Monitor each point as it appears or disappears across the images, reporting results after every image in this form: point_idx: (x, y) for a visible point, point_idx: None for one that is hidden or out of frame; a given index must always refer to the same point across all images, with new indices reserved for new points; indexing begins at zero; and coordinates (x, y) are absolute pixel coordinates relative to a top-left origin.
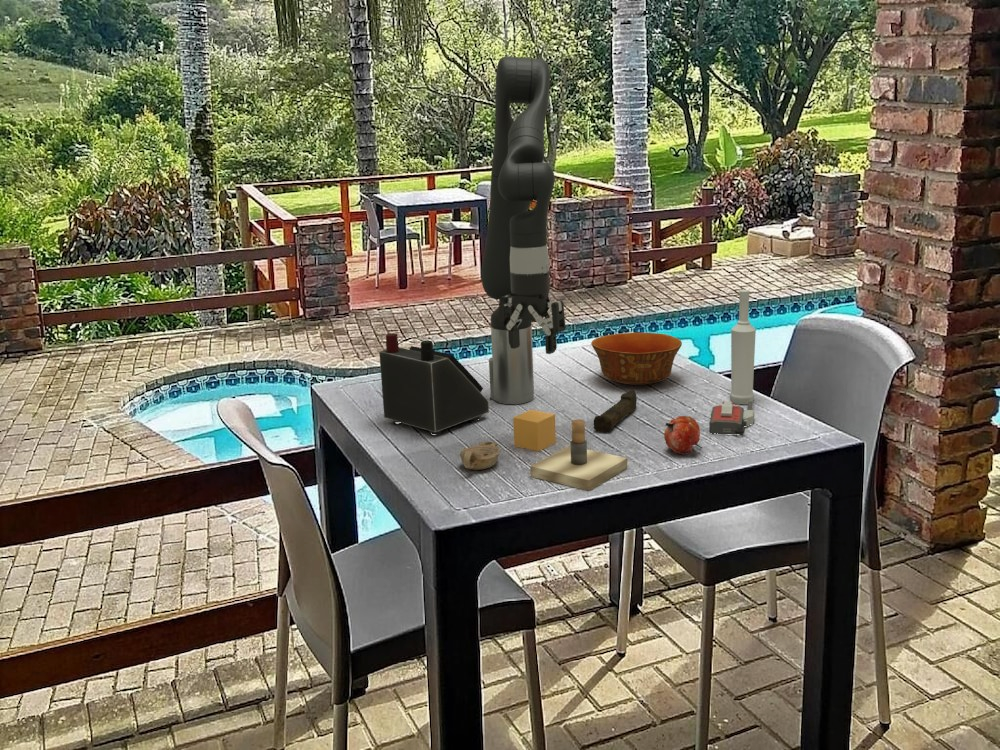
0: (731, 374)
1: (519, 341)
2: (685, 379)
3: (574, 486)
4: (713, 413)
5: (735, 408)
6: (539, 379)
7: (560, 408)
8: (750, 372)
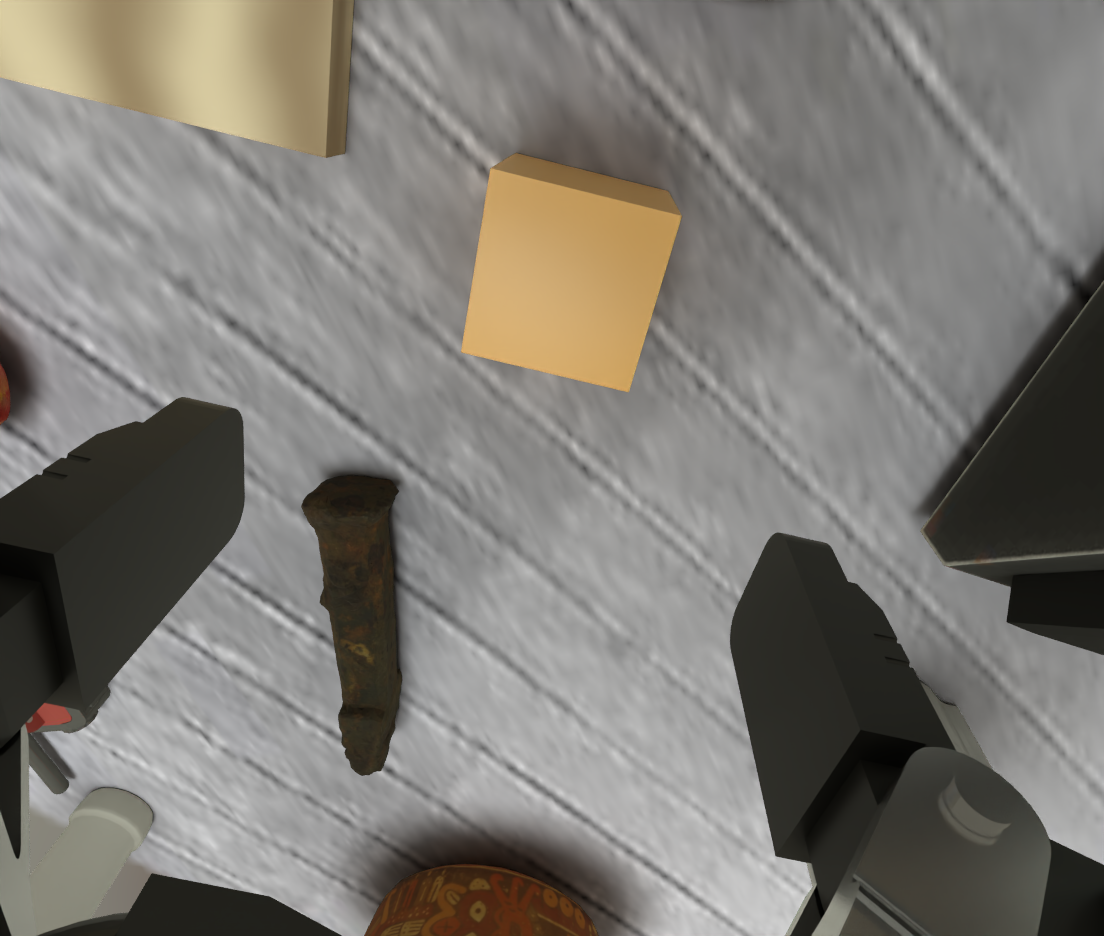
0: (86, 894)
1: (740, 677)
2: (365, 923)
3: None
4: None
5: None
6: None
7: (636, 670)
8: None
